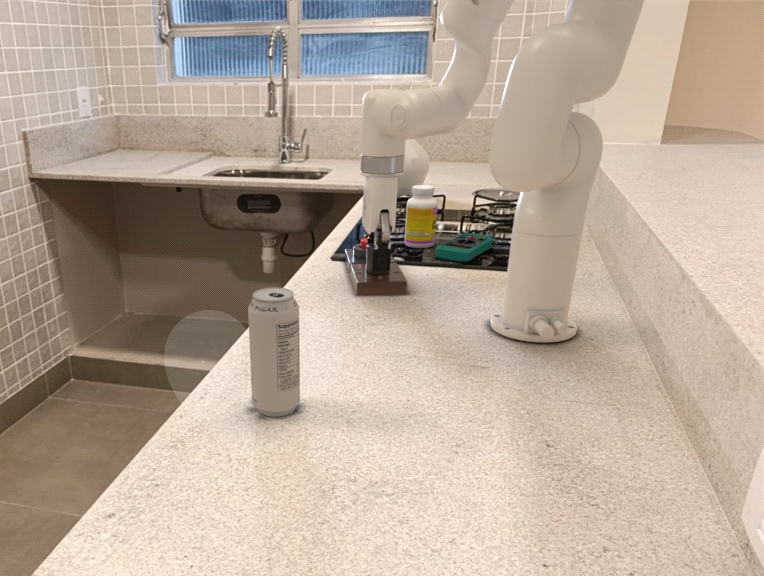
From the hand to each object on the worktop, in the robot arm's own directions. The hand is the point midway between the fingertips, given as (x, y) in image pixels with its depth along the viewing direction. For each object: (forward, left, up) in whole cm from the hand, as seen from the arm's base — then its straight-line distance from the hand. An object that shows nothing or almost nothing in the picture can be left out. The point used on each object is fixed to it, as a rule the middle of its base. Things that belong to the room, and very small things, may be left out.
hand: (378, 263), depth 129 cm
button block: (+13, 0, -4) cm, 14 cm away
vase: (+84, -16, -4) cm, 86 cm away
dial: (0, 0, -2) cm, 2 cm away
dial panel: (0, 0, -4) cm, 4 cm away
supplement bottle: (+28, -13, -4) cm, 31 cm away
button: (+13, 0, -1) cm, 13 cm away
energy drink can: (-49, +19, -4) cm, 53 cm away
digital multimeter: (+20, -21, -4) cm, 29 cm away
